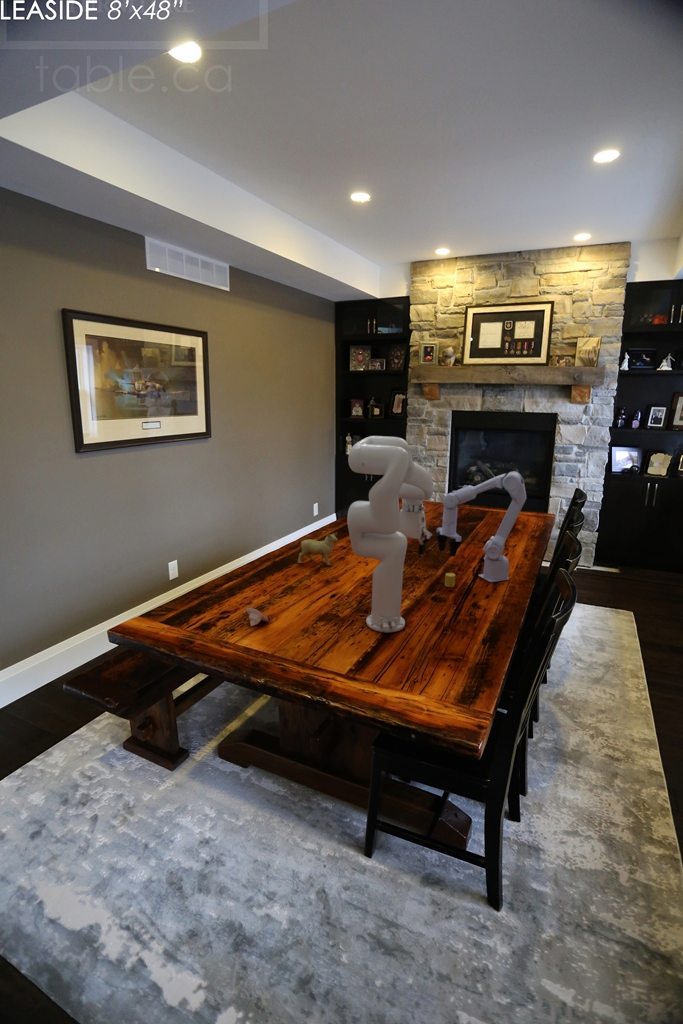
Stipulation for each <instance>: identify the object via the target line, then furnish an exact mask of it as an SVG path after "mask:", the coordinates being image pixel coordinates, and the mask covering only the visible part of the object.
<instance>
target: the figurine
mask: <svg viewBox="0 0 683 1024" xmlns="http://www.w3.org/2000/svg"><path fill="white" fill-rule="evenodd" d="M494 537H495V535H494V536H493V535H492V536H490V539H489V540H487V542H486V543H485V544H484V546H483V548H482V551H483V552H485V550H486V548H487V546H488V545H489V542H490V541H491V540H493V539H494ZM483 560H484V561H485V556H484V557H483Z"/></svg>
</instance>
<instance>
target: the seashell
mask: <svg viewBox="0 0 683 1024" xmlns="http://www.w3.org/2000/svg"><path fill="white" fill-rule="evenodd" d="M245 611H246V614H248V615H249V616H248V619H249V625H250V626H251V627H253V626H256V625H258V624H259V623H260V622H261V621H265V622H269V618H268V616H267V615H266V614H264V613H263V612H261V611H260V610H259V609H256V608H253V607H245Z"/></svg>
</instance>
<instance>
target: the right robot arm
mask: <svg viewBox="0 0 683 1024" xmlns="http://www.w3.org/2000/svg"><path fill="white" fill-rule="evenodd" d="M494 488H497V489H500V490H501V489H503V488H504V489H505V490H506V491H507V492H508V493H509V496H510V498H511V501H510V504H509V506H508V508H507V510H506V512H505V514H504V517H503V518H502V521H501V523H500V524H499V526H498V528H497V531H496V533H495V535H494V539H493V540H491V541H490V542H489V545H488V546H487V548H486V550H485V551H484V553H485V555H484V557H485V560H484V562H483V563H484V564H483V571H482V573H481V574H478V577H480V578H481V579H483V580H485V581H487V582H489V583H497V582H502V581H508V580H510V577H509V570H510V569H509V568H510V561H509V559H508V558H507V556H504V554H503V552H504V550H505V548H506V547H505V542H506V541H507V539H508V537H509V535H510V533H511V531H512V529H513V526H514V524H515V523H516V521H517V519H518V516H519V514H520V512H521V511H522V508H523V507H524V504H525V502H526V500H527V491H526V486H525V480H524V478H523V476H522V474H520V472H519V471H514V470H513V471H509V472H508V473H502V474H500V475H497V476H494V477H492V478H490V479H487V480H485V481H484V482H481V483H479V484H477V485H475V486H473V485H470V484H469V485H467V484H464V485H463V486H462V488H459V489H457V490H452V492H449V493H448V494H446V495H445V496H444V497H443V499H442V505H443V510H442V523H441V527H437V528H436V534H435V535H434V536H435V539H436V541H437V544H438V549H439V551H440V552H443V551H445V550H446V545H447V542H448V546H449V556H450V557H451V558H453V557H456V554H457V552H458V549H459V547H460V546H461V544H463V540H462V536H461V535H460V534H458V533H457V523H458V505H463V504H465V503H466V502H470V501H472V500H474V499H476V497H477V495H478V494H482V493H483V492H485V491H488V490H491V489H494ZM448 538H449V539H448Z"/></svg>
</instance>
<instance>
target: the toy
mask: <svg viewBox="0 0 683 1024" xmlns="http://www.w3.org/2000/svg"><path fill="white" fill-rule="evenodd" d="M337 535H338V532H333V533H332V534H330V533H327V534H326V536H325V539H324V540H320V541H319V540H315V539H311V538H309V539H308V538H307V539H304V540H301V542H300V548H301V551H300V552H299V554H298V559H297V564H298V565H302V563H303V562H302V558H303V557H304V556H306V557H307V558H308V559H309V560H310V562H314V558H313V556H312V555H314V556H315V555H316V556H318V555H321V558H320V563H325V561H326V565H327V566H328V567H332V564H331V563H330V561H329V556H330V555H331V553H332V552H333V550H334V545H335V544H334V542H335V543H337V542H338V541H339V538H337V537H336V536H337ZM311 554H312V555H311Z"/></svg>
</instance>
